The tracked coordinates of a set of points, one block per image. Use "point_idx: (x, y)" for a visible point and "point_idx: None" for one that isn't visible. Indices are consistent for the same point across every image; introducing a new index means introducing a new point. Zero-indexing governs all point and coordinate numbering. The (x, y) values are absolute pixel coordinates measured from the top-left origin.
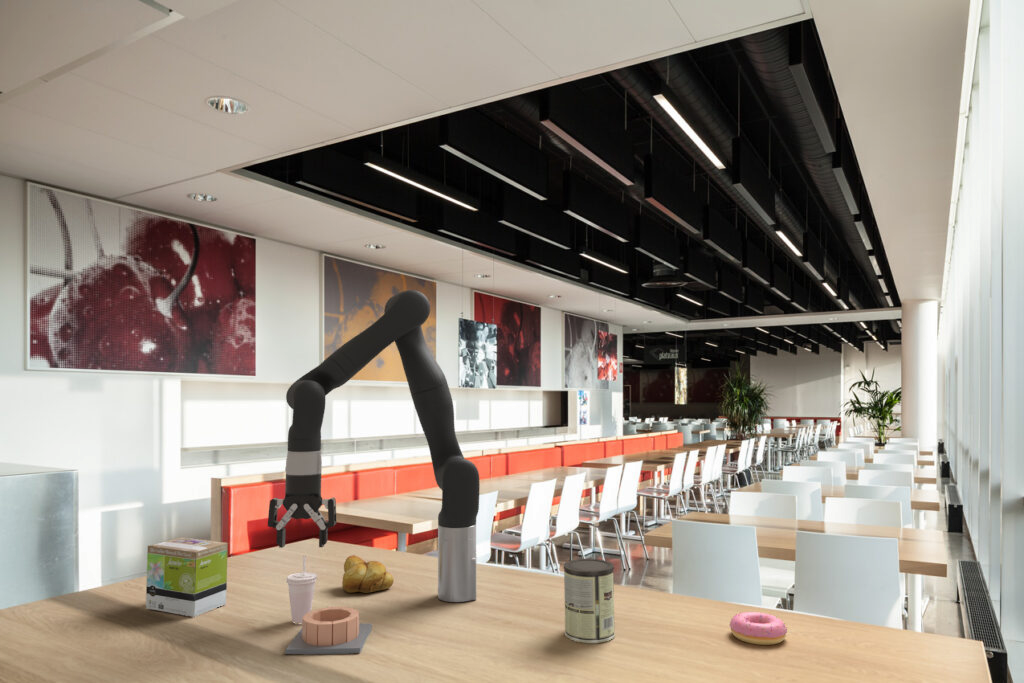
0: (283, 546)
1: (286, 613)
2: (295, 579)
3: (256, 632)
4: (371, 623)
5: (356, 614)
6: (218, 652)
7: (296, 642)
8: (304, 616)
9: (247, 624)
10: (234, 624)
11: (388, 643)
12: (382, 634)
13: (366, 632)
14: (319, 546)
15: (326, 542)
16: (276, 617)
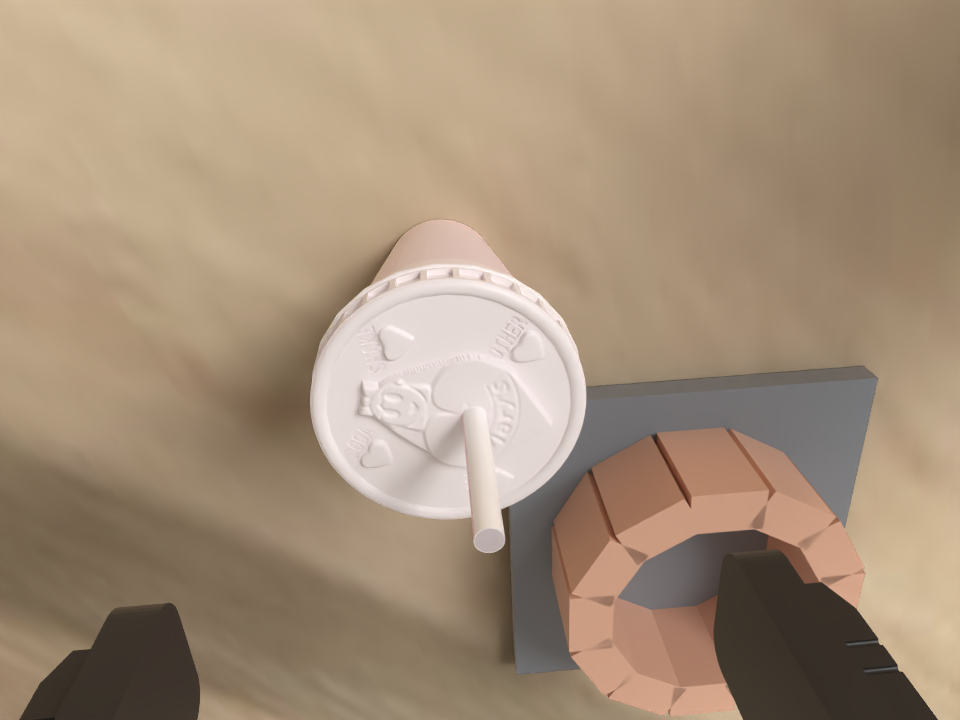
0: (189, 661)
1: (274, 104)
2: (426, 495)
3: (257, 440)
4: (875, 378)
5: (849, 595)
6: (218, 651)
7: (539, 613)
8: (574, 635)
9: (128, 325)
10: (45, 328)
11: (928, 535)
12: (911, 441)
13: (846, 496)
14: (724, 661)
15: (831, 605)
16: (244, 193)
